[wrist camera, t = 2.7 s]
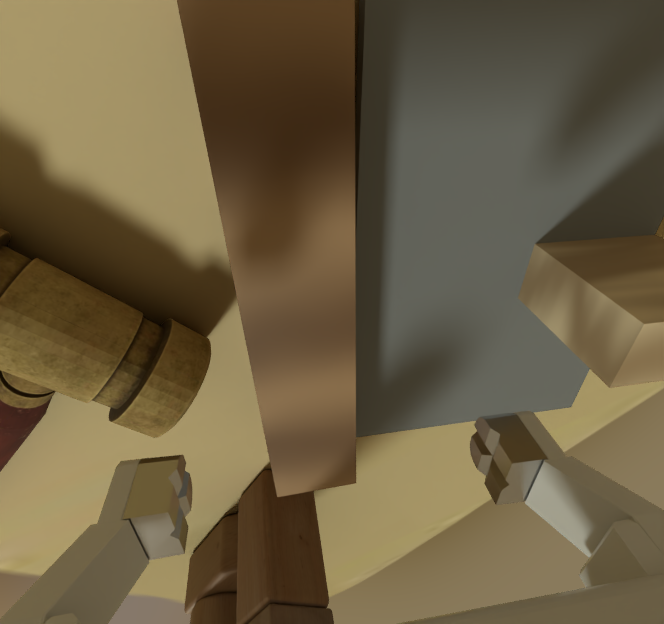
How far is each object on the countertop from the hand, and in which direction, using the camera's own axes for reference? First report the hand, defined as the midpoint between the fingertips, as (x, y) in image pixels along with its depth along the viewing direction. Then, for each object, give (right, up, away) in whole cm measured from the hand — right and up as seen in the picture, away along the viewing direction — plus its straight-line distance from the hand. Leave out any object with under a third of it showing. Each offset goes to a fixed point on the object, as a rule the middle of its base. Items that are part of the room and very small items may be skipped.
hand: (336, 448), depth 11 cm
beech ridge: (+12, +6, +8) cm, 15 cm away
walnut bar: (-2, +5, +7) cm, 9 cm away
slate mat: (+8, +6, +8) cm, 12 cm away
